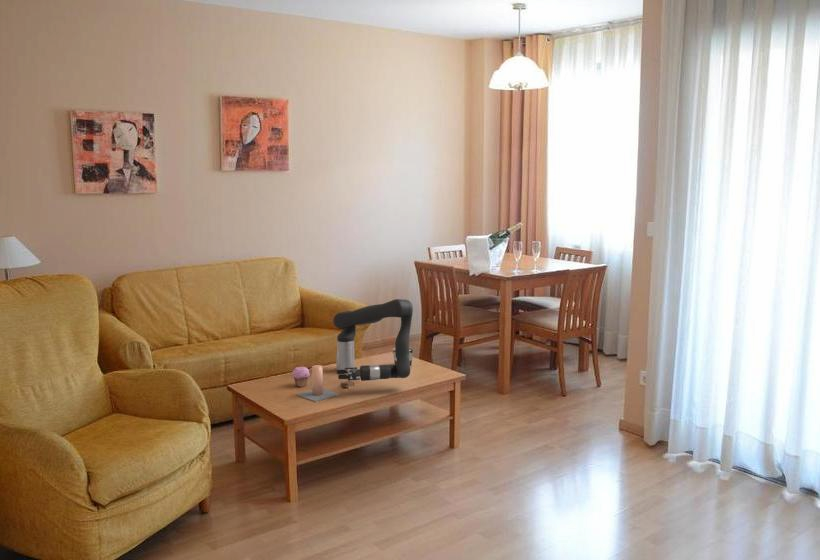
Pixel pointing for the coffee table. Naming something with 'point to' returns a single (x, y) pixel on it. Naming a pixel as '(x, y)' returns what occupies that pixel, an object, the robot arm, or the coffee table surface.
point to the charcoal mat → (317, 398)
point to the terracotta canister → (317, 380)
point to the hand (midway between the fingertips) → (337, 374)
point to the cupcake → (301, 376)
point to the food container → (409, 356)
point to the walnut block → (347, 384)
